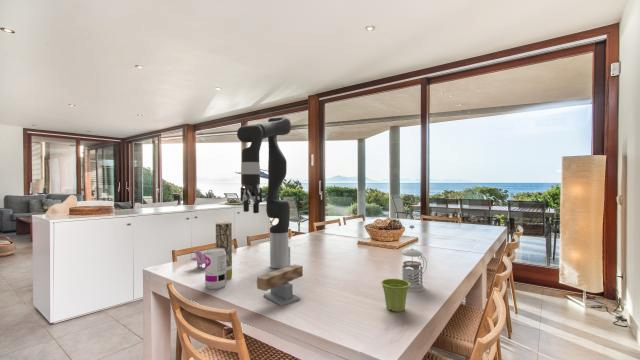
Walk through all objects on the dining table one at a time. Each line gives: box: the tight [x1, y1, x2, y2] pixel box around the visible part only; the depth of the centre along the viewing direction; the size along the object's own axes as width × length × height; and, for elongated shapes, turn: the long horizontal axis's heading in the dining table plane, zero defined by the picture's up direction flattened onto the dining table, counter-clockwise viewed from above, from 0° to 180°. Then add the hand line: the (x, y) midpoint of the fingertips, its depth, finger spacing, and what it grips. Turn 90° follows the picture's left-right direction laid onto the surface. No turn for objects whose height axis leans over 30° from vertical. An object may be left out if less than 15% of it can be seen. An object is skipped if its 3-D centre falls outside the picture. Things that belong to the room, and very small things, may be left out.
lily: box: [189, 249, 206, 271], centre depth 157 cm, size 12×12×10 cm
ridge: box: [263, 282, 301, 307], centre depth 117 cm, size 8×12×6 cm, turn 40°
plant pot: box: [380, 278, 410, 312], centre depth 107 cm, size 9×9×9 cm
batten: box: [256, 263, 304, 292], centre depth 117 cm, size 20×4×4 cm, turn 144°
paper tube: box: [215, 220, 233, 281], centre depth 142 cm, size 7×7×25 cm
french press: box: [401, 224, 428, 292], centre depth 128 cm, size 10×12×25 cm
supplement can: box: [204, 247, 227, 290], centre depth 131 cm, size 8×8×15 cm
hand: (251, 212), depth 133 cm, fingers open, 8 cm apart
